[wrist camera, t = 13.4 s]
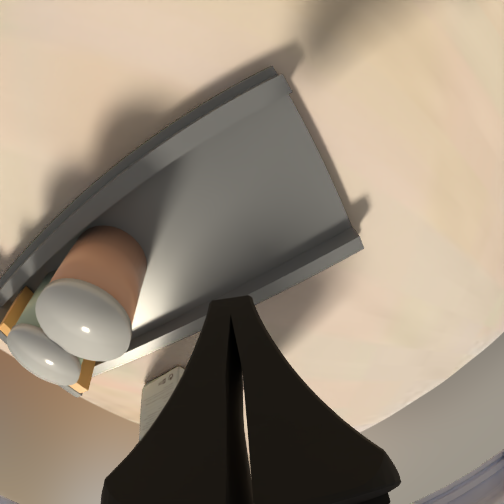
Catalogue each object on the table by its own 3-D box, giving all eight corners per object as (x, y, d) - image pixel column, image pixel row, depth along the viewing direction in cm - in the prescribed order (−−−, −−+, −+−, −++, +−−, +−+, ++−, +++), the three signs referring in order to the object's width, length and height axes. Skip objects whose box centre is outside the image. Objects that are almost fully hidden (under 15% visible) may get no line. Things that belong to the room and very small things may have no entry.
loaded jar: (39, 305, 19) (10, 362, 14) (44, 257, 16) (3, 317, 12) (95, 332, 20) (75, 394, 16) (109, 289, 18) (83, 358, 13)
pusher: (19, 291, 18) (-7, 336, 14) (26, 285, 17) (-2, 331, 13) (90, 355, 22) (77, 401, 18) (98, 351, 22) (86, 399, 18)
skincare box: (141, 384, 26) (130, 528, 13) (181, 361, 24) (179, 532, 12) (204, 413, 30) (210, 537, 17) (245, 395, 28) (262, 533, 16)
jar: (61, 232, 16) (18, 292, 11) (133, 216, 16) (103, 279, 11) (91, 296, 19) (66, 361, 14) (158, 287, 19) (145, 359, 14)
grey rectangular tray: (-6, 285, 18) (-25, 314, 15) (270, 66, 13) (285, 62, 10) (88, 369, 24) (80, 400, 21) (355, 239, 19) (378, 271, 16)
